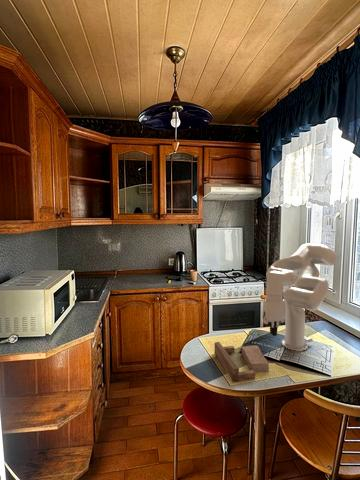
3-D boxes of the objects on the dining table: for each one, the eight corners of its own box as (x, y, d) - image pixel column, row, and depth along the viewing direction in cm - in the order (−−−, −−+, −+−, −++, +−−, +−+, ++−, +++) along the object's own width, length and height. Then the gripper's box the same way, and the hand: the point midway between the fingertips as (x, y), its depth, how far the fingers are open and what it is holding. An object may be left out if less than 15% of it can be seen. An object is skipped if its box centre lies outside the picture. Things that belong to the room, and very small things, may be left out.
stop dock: (232, 351, 138) (232, 340, 138) (255, 379, 115) (255, 365, 114) (214, 353, 136) (214, 342, 136) (233, 382, 113) (233, 369, 112)
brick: (269, 372, 120) (270, 362, 119) (251, 373, 119) (251, 363, 119) (257, 353, 136) (257, 344, 136) (241, 354, 136) (241, 345, 135)
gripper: (284, 294, 132) (282, 330, 133) (256, 295, 129) (255, 332, 130) (293, 298, 124) (292, 336, 126) (264, 300, 121) (263, 339, 123)
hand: (273, 334), depth 128 cm, fingers closed
